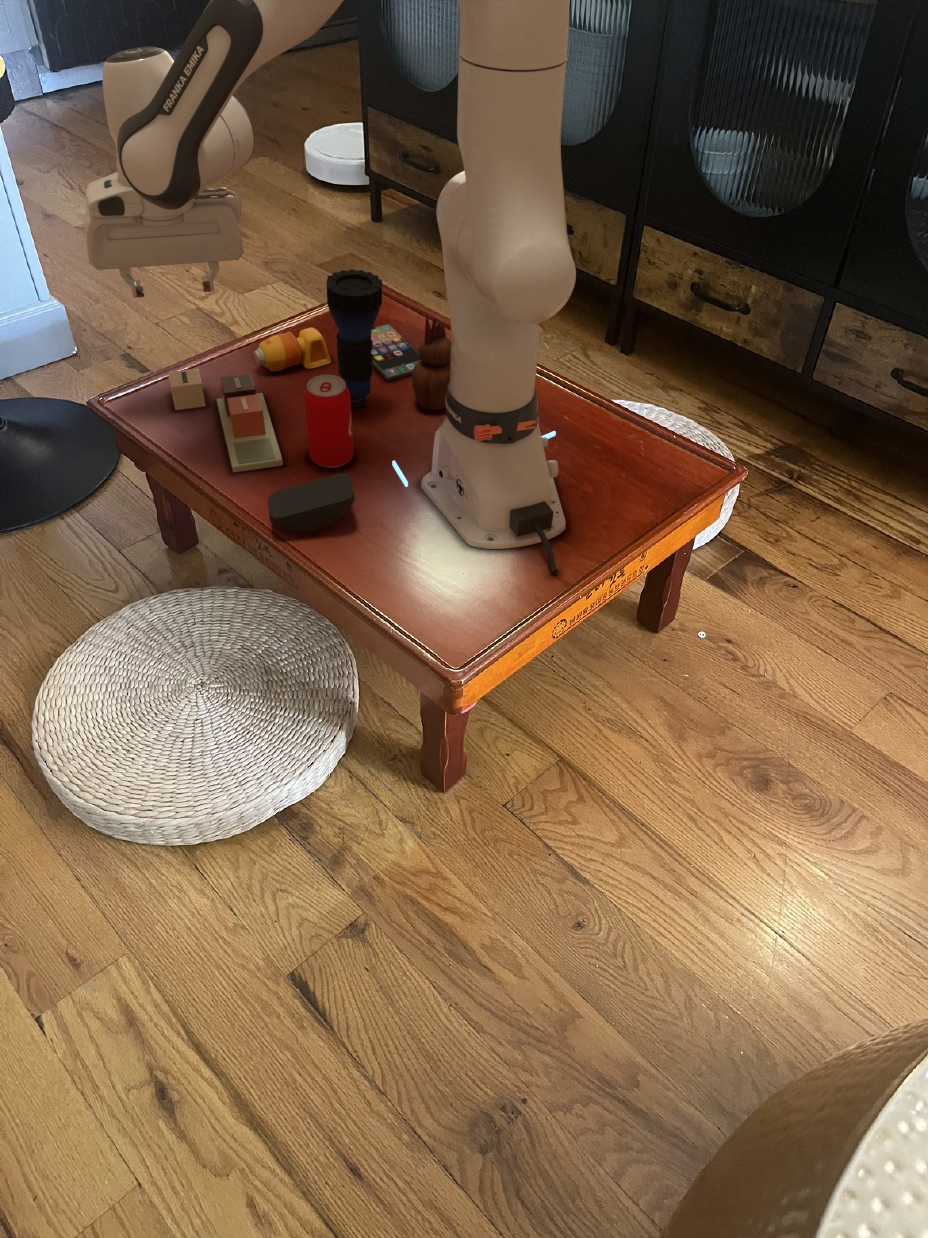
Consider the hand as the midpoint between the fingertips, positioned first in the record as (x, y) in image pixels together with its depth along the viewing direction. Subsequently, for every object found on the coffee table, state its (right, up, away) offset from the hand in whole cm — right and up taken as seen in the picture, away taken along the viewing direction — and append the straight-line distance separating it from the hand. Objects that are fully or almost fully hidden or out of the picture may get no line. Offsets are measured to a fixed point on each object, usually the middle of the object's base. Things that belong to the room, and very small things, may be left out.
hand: (174, 292), depth 130 cm
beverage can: (+22, -23, +4) cm, 31 cm away
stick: (+34, -3, +24) cm, 42 cm away
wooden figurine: (+36, -12, +15) cm, 41 cm away
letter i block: (-2, -12, +13) cm, 18 cm away
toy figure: (+13, -4, +21) cm, 25 cm away
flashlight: (+24, -13, +14) cm, 31 cm away
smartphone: (+28, -2, +25) cm, 37 cm away
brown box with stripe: (+7, -14, +10) cm, 18 cm away
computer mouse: (+20, -29, -10) cm, 37 cm away
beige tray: (+9, -18, +7) cm, 21 cm away
